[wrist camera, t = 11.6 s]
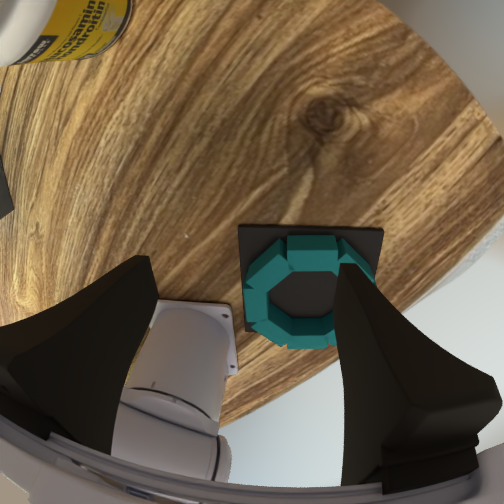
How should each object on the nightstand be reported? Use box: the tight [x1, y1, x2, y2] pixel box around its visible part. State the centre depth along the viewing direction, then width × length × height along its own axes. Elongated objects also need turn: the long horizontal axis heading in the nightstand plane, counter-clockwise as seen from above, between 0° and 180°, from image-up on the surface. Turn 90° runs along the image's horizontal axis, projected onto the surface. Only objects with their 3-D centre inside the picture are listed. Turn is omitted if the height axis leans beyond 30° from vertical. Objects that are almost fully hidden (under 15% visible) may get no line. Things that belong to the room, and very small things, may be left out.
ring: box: [243, 235, 377, 349], centre depth 21 cm, size 9×9×2 cm
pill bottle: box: [0, 0, 132, 67], centre depth 8 cm, size 6×6×12 cm
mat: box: [238, 225, 384, 332], centre depth 22 cm, size 10×10×1 cm
